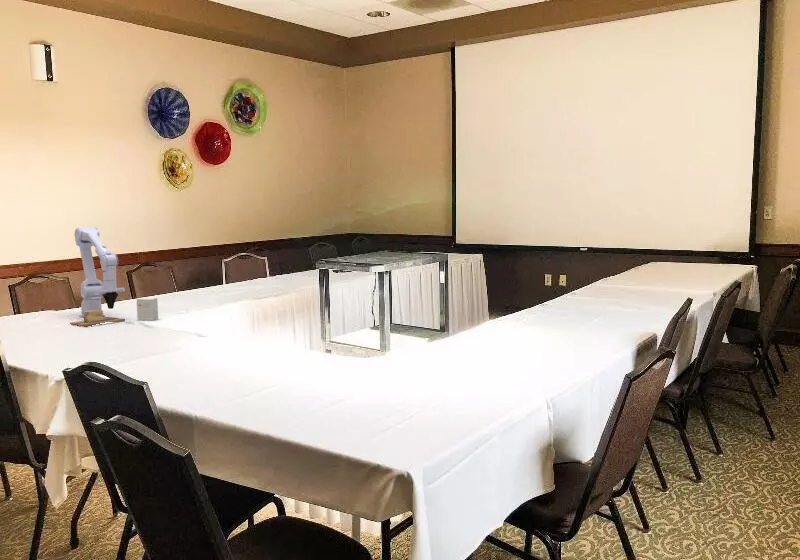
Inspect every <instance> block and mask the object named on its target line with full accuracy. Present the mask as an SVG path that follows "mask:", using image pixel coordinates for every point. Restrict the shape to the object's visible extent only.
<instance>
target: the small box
mask: <svg viewBox="0 0 800 560" xmlns="http://www.w3.org/2000/svg"><path fill="white" fill-rule="evenodd" d="M136 317H137V319H136V320H137V321H144V322H145V321H147V322H151V321H156V320H158V319H159V305H158V297H138V298H136Z"/></svg>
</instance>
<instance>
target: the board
mask: <svg viewBox="0 0 800 560" xmlns="http://www.w3.org/2000/svg"><path fill="white" fill-rule="evenodd" d="M125 320H126V319H125V318H119V317H113V316H104V317H103V321H99V322H92V323H86V322H84V320H79V321H72V322H69V325H70V324H71V325H70V326H74V325H78V326H77V327H81V326H84V327H83V328H89V327H88V326H91V327H93V326H92V325H96V324H100V323H105V322H117V323H122V322H125Z"/></svg>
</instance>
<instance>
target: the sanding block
mask: <svg viewBox="0 0 800 560" xmlns="http://www.w3.org/2000/svg"><path fill="white" fill-rule="evenodd" d="M103 312H104V310H103V309H102V310H90V311H84V317H83V321H84V322H86V323H92V322H99V321H103V318H104V316H103V315H104V313H103Z"/></svg>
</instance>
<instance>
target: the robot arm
mask: <svg viewBox="0 0 800 560" xmlns="http://www.w3.org/2000/svg"><path fill="white" fill-rule="evenodd" d="M74 240H75V243H76V244H75V245H76V246H77V247H79V253H80V256H81V261H82V262H81V263H82V267H83V272H84V273H83V275H84V279H85V280H83V281H82V282H81V284H80V295H81V298H82V301H81V302H80V307H81V308H80V310H81V311H80V312H81V315H79V316H80V317H82V318H84V311H90V310H103V309H102V299H104V301H105V303H106V305H107V309H110V310H111V309H114V307H115V302H116V300H117V298H118V296H119V293H125V292H126V288H125V287H117V286H118V285H117V267H118V265H119V257H118V255H117V254H116V253H112V251H111V250H110V249H109V247H108V246H107V244H103V242H102V240H101V239H100V230H99V229H98V227H96V226H95V227H76V229H75V230H74ZM92 247H94V249H95V250H94V252H95V254H96V256H98V258H99V263H100V266H101V271H102V280H100V279H98V278H97V273H96V269H95V264H94V263H95V262H94V257H93V252H92ZM103 317H107V316H106V314H103Z"/></svg>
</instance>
